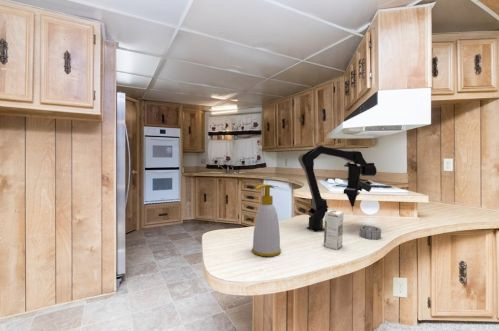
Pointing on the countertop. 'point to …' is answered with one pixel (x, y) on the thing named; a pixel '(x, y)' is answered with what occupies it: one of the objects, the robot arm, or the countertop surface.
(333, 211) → the syrup box
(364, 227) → the cap
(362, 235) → the grey ribbed ring
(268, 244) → the soap bottle
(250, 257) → the countertop surface
